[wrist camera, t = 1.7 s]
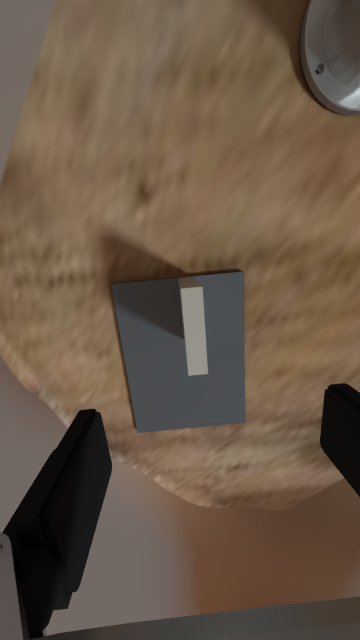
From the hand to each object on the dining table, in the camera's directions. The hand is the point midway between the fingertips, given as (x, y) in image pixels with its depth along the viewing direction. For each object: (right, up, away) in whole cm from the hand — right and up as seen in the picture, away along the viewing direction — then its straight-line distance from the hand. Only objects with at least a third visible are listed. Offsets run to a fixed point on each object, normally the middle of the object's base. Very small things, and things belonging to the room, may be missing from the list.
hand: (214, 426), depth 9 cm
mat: (-1, -1, +21) cm, 21 cm away
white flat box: (0, +6, +19) cm, 19 cm away
